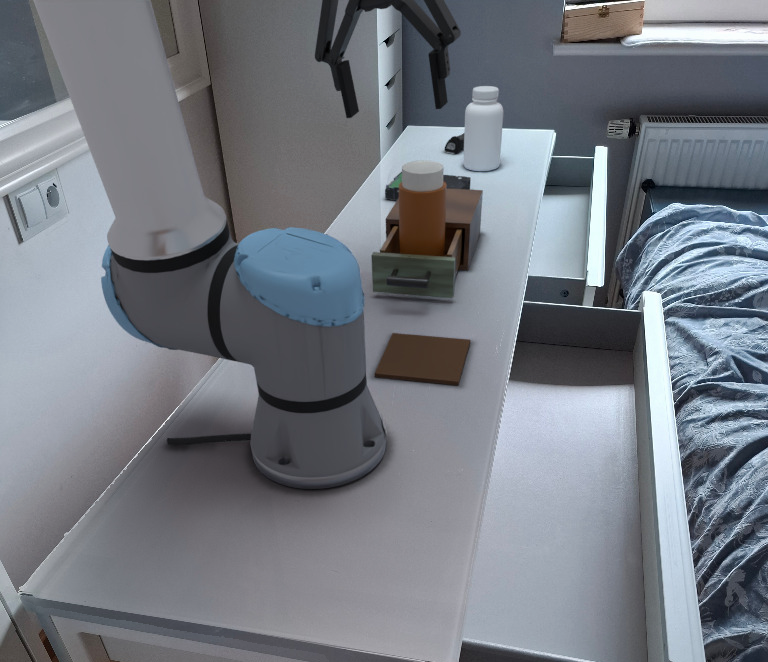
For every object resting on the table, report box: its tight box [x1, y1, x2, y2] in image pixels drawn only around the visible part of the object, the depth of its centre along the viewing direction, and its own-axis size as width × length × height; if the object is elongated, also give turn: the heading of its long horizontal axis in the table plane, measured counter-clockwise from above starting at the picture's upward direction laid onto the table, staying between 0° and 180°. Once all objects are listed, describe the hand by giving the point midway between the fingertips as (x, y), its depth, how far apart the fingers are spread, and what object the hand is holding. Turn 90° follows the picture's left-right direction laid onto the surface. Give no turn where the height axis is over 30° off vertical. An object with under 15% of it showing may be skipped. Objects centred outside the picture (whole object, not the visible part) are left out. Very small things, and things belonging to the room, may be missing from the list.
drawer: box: [370, 224, 464, 299], centre depth 110 cm, size 19×12×6 cm, turn 167°
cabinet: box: [385, 189, 484, 271], centre depth 121 cm, size 16×14×8 cm
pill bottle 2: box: [462, 85, 504, 172], centre depth 151 cm, size 8×8×15 cm
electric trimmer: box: [444, 132, 464, 155], centre depth 167 cm, size 4×16×3 cm, turn 142°
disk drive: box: [384, 171, 471, 201], centre depth 143 cm, size 10×3×15 cm
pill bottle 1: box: [399, 160, 446, 257], centre depth 108 cm, size 7×7×15 cm
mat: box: [374, 332, 471, 386], centre depth 96 cm, size 11×11×1 cm
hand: (396, 110), depth 99 cm, fingers open, 13 cm apart
